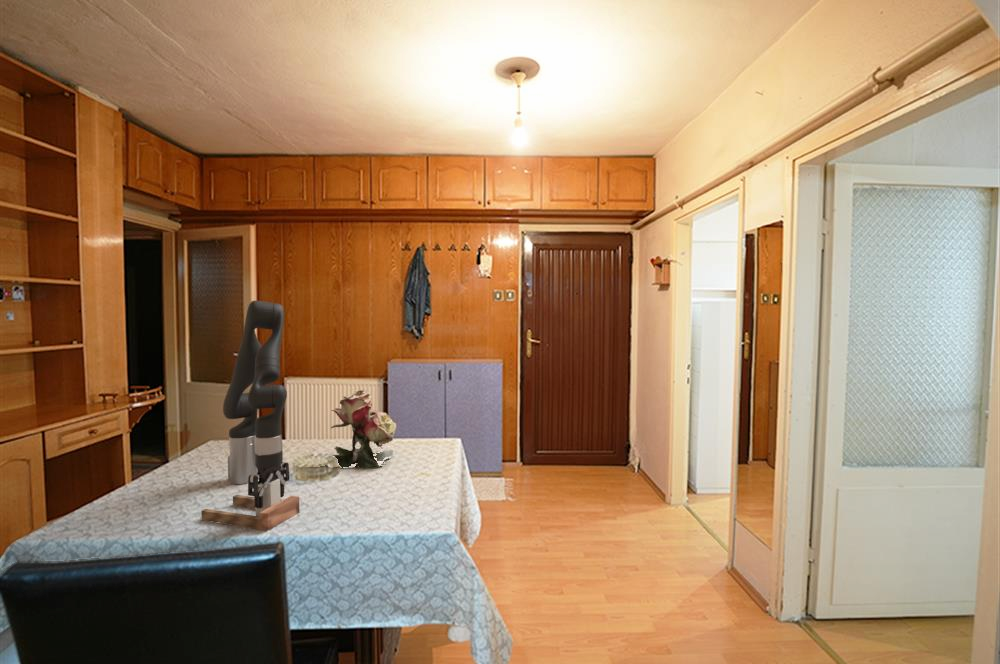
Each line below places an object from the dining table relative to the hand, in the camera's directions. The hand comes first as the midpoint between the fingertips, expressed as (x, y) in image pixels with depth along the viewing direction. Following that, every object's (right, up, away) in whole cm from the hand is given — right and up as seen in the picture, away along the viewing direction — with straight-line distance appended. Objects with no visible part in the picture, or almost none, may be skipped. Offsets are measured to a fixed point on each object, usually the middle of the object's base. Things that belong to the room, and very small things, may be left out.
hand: (270, 502), depth 142 cm
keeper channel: (-7, -5, +2) cm, 9 cm away
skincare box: (-1, -6, 0) cm, 6 cm away
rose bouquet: (+12, -3, +60) cm, 61 cm away
